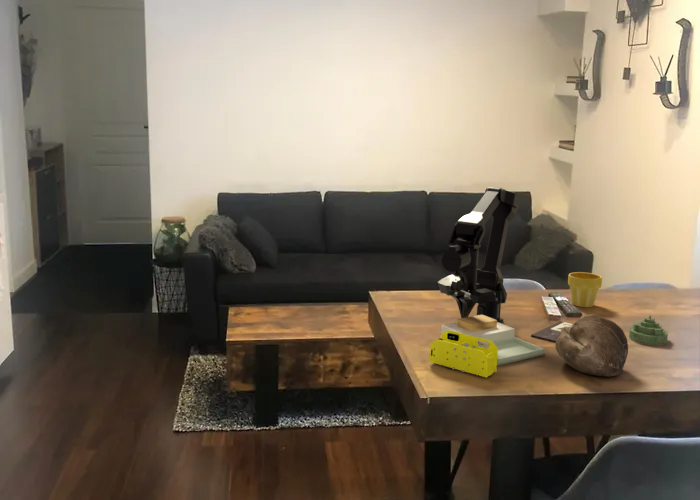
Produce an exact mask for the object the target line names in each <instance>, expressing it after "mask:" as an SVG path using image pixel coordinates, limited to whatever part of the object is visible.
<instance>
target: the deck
mask: <svg viewBox="0 0 700 500" xmlns="http://www.w3.org/2000/svg"><path fill="white" fill-rule="evenodd" d="M440 327H441V328H440V335H441V334H442V333H444V332H445V331H447V330H450V331H454V332H458V333H462V334H466V335H470V336H474V337H479V338H483V339H487V340H491V341H492V342H493V341H497V340H502V339H507V338H512V337H516V336H515V335H516V328H514V327H512V326H509V325H506V324H504V323H501V322H497V327H495V328H490V329H485V330H480V331H475V332H470V331H468V330H465V329H463V328H461V327H458V326H457V322H453V323H448V324H441V326H440ZM451 334H453V333H451ZM450 337H451V336H450ZM453 338H454V336H453ZM484 342H487V341H484Z"/></svg>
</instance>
